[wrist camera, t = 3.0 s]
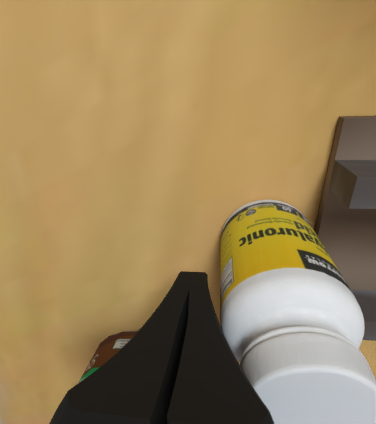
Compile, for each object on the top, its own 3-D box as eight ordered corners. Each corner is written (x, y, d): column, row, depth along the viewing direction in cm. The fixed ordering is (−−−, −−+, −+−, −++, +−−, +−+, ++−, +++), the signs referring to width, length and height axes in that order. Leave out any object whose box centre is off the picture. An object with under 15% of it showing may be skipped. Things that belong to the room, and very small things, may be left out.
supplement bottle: (322, 203, 15) (463, 376, 6) (293, 275, 18) (365, 468, 9) (228, 189, 15) (240, 338, 7) (213, 262, 18) (207, 439, 9)
